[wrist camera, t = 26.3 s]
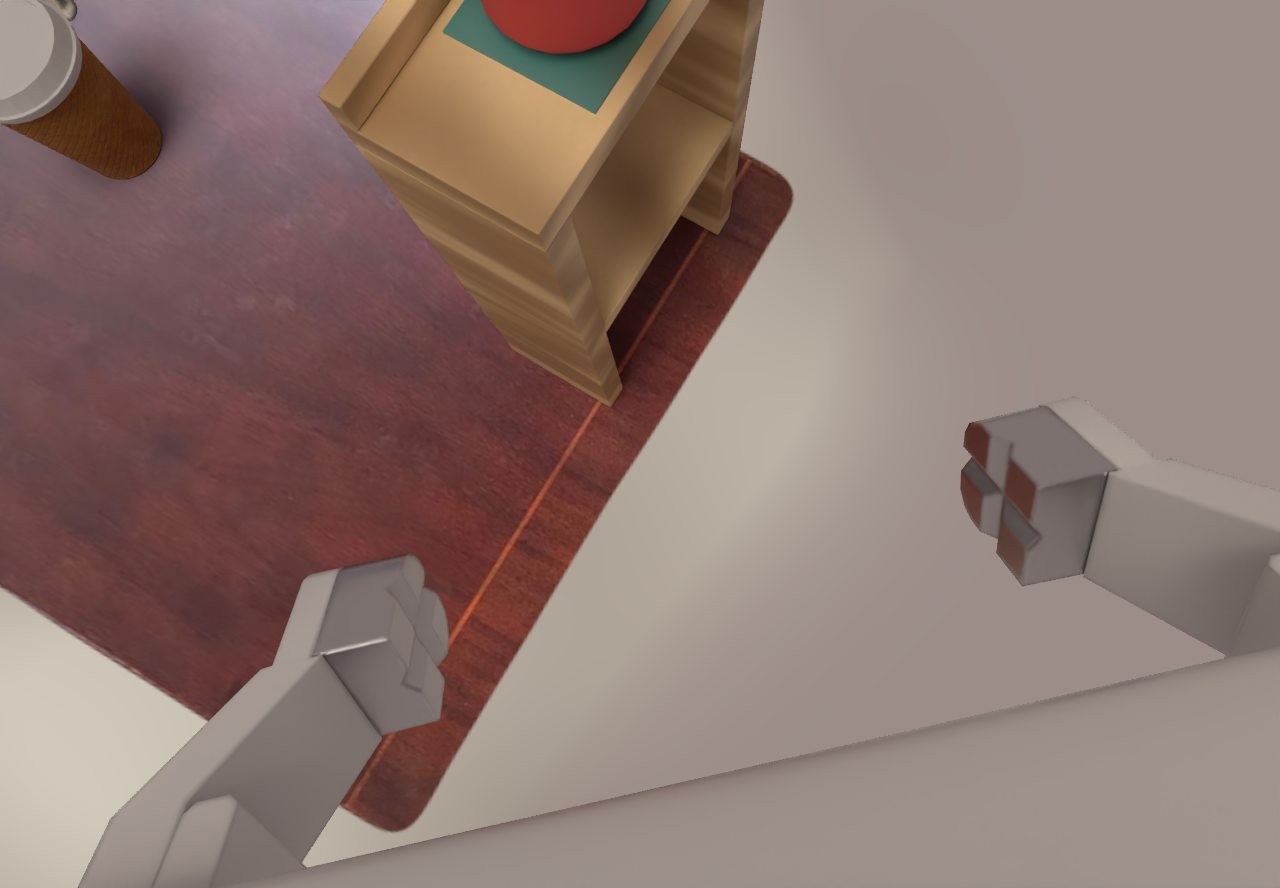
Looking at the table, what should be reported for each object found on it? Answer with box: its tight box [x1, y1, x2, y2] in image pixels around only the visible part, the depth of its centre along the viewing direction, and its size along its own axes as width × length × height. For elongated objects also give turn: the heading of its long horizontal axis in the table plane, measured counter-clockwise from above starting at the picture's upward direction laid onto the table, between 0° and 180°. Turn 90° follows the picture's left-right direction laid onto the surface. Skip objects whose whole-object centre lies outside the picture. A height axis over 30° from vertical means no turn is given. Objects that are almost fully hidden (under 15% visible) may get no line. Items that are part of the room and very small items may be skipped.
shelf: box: [319, 0, 764, 407], centre depth 41 cm, size 18×9×32 cm, turn 149°
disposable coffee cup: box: [0, 0, 162, 179], centre depth 55 cm, size 10×10×12 cm
